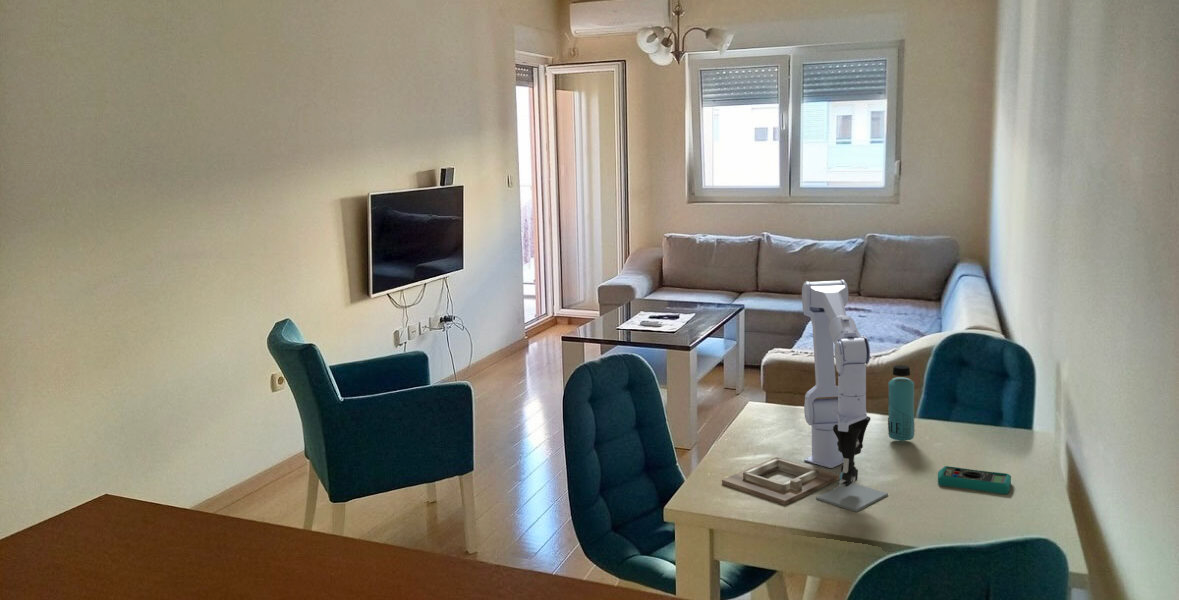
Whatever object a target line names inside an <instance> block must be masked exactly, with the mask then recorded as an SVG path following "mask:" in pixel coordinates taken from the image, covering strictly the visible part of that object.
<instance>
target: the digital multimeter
mask: <svg viewBox="0 0 1179 600" xmlns="http://www.w3.org/2000/svg"><path fill="white" fill-rule="evenodd" d="M937 485H939V486H940V487H941V486H942V487H951V488H955V489H956V488H957V489H965V490H972V491H979V492H988V493H993V494H999V495H1007V494H1009V493H1010V491H1011V487H1012V476H1011V475H1010V474H1009V473H1005V472H996V471H987V470H977V469H972V468H971V469H970V468H962V467H955V466H949V465H945V466H943V467H942V468H941V469H940V470H939V471H938V472H937Z"/></svg>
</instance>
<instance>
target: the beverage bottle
mask: <svg viewBox="0 0 1179 600" xmlns="http://www.w3.org/2000/svg"><path fill="white" fill-rule="evenodd" d="M910 369H911V368H910V366H909V365H907V364H896V365H893V367H892V375H893V376H896V377H893V378H892V379H891V380H889V381H888V395H887V400H888V402H887V403H888V404H887V406H888V415H887V416H888V417H887V429H888V437H889V438H890V439H892V440H894V441H904V442H905V441H911V440H913V439H914V438H915V435H916V433H915V431H916V429H915V427H916V426H915V425H916V422H915V421H916V420H915V418H916V417H915V414H916V413H915V381H913V380H912V379H910V377H909V376H910V375H911V370H910ZM908 377H909V378H908Z"/></svg>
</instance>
